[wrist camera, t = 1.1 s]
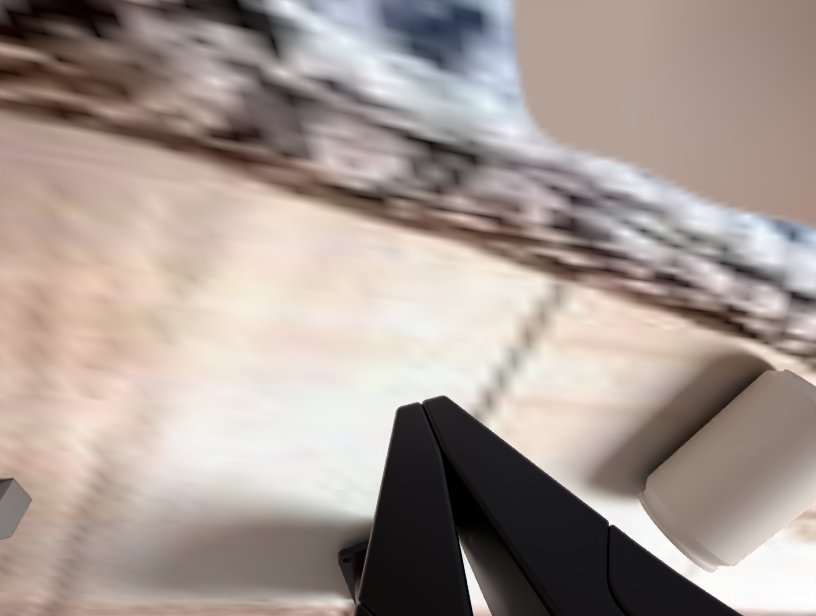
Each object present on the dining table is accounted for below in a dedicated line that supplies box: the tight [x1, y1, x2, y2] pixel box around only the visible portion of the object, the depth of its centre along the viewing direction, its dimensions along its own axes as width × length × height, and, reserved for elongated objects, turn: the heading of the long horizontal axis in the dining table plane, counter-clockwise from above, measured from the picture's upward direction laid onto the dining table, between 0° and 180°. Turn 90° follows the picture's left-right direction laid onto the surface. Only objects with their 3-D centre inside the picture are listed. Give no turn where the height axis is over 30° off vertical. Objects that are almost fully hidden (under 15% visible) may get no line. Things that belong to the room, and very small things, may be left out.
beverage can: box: [638, 369, 816, 572], centre depth 29 cm, size 6×6×12 cm
